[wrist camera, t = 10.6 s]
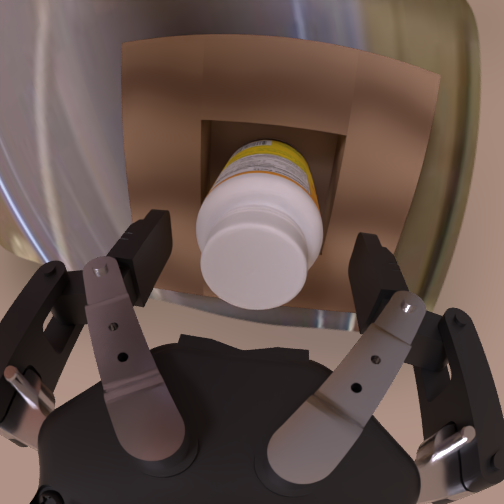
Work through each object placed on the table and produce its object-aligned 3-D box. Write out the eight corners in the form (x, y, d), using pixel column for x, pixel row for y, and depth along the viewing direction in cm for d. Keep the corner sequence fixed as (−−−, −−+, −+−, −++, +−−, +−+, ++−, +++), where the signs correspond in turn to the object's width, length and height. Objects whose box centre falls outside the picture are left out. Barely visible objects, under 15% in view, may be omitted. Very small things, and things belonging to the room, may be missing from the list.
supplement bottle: (284, 226, 21) (278, 341, 13) (214, 190, 20) (160, 288, 12) (327, 162, 18) (361, 252, 10) (251, 119, 17) (213, 171, 9)
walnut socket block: (144, 44, 15) (122, 42, 12) (419, 73, 14) (440, 75, 11) (156, 263, 25) (144, 286, 23) (362, 288, 24) (368, 313, 22)
